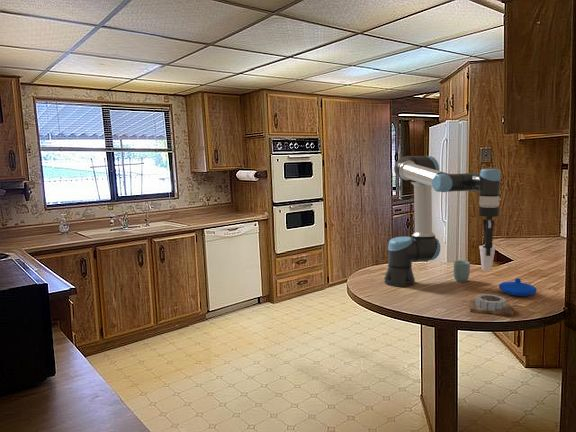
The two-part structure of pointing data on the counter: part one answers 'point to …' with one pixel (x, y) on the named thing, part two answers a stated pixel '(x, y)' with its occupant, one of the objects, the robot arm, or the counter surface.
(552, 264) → the counter surface
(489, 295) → the ring
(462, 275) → the cup
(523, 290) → the blue funnel
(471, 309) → the board
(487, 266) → the smoothie
